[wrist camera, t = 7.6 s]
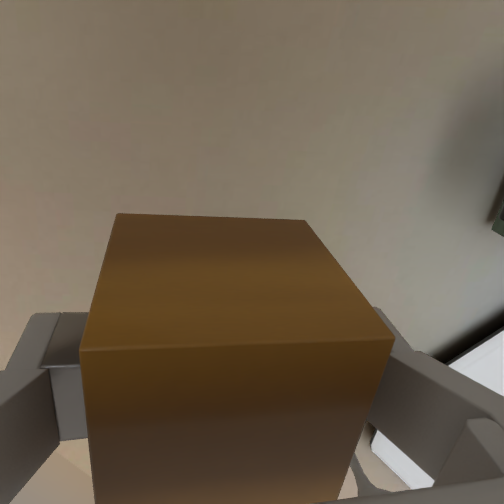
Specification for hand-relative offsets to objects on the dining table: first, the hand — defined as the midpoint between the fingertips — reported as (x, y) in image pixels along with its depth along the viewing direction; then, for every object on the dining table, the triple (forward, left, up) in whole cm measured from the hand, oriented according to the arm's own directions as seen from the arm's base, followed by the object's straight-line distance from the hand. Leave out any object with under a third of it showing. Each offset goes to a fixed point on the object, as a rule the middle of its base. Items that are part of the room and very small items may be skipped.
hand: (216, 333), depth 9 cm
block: (0, 0, -2) cm, 2 cm away
